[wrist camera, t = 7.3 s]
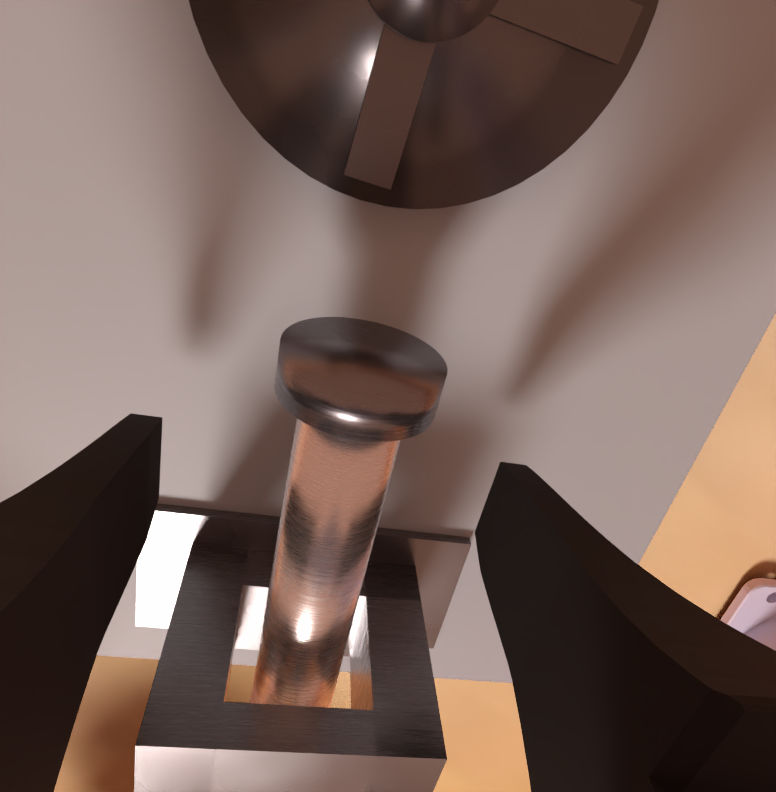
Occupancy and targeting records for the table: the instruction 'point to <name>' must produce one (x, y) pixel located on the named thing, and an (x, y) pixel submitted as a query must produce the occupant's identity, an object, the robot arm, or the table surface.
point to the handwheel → (422, 86)
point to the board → (379, 284)
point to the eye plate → (241, 628)
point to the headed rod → (335, 489)
